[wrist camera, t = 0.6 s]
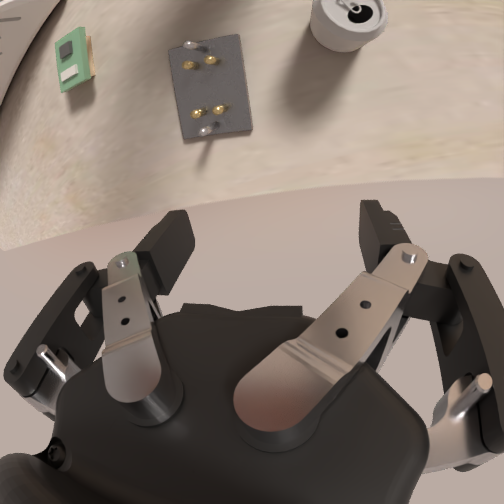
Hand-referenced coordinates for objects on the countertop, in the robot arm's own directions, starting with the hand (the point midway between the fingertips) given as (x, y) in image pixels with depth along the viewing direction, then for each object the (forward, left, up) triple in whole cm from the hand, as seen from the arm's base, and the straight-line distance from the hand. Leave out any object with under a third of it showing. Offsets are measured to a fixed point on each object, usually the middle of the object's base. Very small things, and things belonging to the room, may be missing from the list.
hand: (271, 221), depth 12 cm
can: (-14, +8, -27) cm, 32 cm away
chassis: (-7, -10, -27) cm, 30 cm away
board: (-19, -31, -24) cm, 44 cm away
